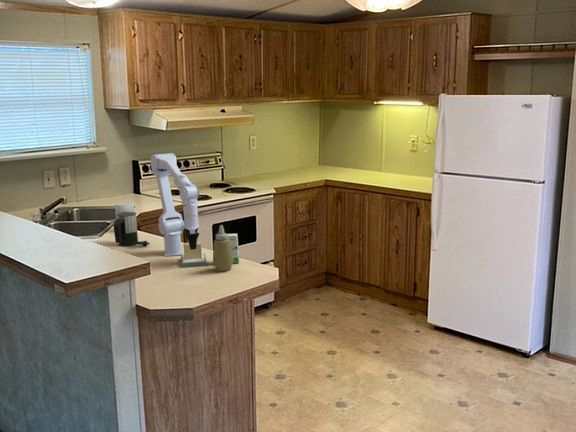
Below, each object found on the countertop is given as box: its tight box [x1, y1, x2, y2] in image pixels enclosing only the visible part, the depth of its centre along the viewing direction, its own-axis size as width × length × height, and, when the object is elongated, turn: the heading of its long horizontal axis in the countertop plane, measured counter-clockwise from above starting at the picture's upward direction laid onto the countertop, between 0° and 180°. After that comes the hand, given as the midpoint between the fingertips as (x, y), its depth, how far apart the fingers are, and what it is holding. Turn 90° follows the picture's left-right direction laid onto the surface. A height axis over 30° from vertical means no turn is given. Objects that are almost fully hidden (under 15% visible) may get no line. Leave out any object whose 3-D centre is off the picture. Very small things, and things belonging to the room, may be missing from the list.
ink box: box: [227, 233, 240, 265], centre depth 258 cm, size 9×5×12 cm, turn 92°
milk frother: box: [113, 211, 150, 247], centre depth 293 cm, size 14×16×15 cm
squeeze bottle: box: [212, 224, 233, 272], centre depth 248 cm, size 8×8×18 cm
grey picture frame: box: [180, 252, 208, 269], centre depth 261 cm, size 14×10×2 cm
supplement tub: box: [114, 201, 135, 220], centre depth 324 cm, size 10×10×15 cm
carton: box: [183, 241, 203, 260], centre depth 261 cm, size 7×4×6 cm, turn 102°
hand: (192, 247), depth 260 cm, fingers open, 7 cm apart
